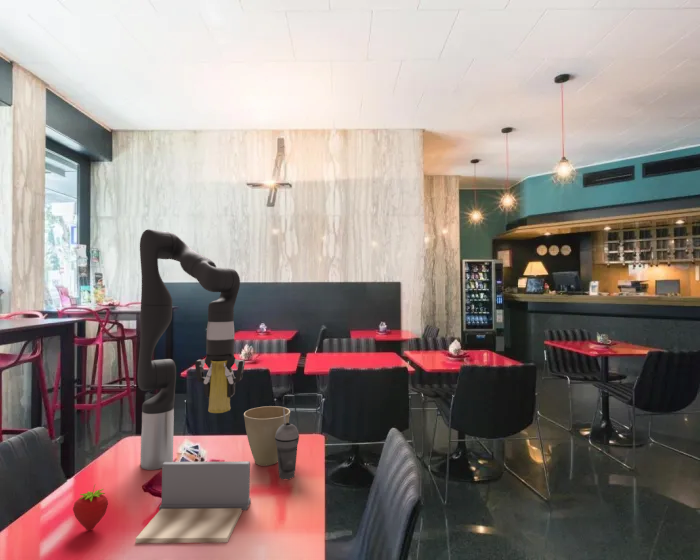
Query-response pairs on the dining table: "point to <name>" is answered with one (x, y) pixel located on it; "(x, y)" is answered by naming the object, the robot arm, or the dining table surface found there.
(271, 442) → the plant pot
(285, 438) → the beverage cup
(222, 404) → the vase
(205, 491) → the screen
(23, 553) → the dining table surface
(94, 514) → the strawberry
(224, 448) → the dining table surface
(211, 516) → the board
